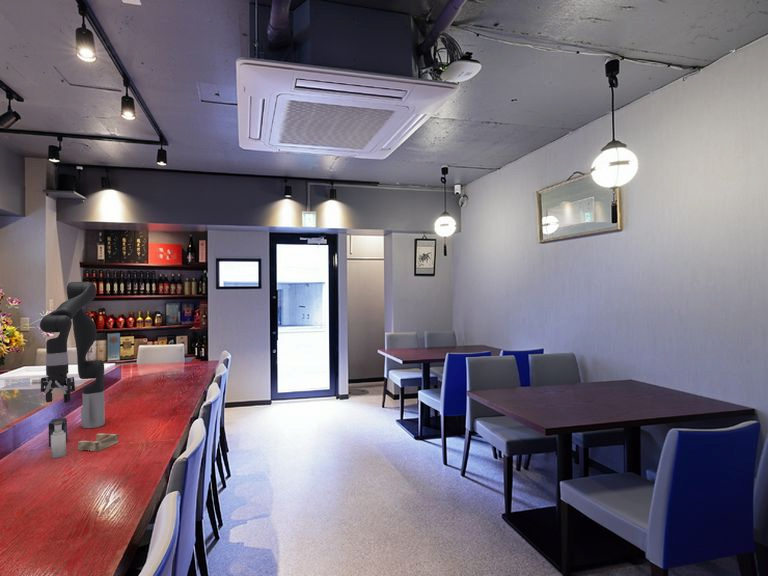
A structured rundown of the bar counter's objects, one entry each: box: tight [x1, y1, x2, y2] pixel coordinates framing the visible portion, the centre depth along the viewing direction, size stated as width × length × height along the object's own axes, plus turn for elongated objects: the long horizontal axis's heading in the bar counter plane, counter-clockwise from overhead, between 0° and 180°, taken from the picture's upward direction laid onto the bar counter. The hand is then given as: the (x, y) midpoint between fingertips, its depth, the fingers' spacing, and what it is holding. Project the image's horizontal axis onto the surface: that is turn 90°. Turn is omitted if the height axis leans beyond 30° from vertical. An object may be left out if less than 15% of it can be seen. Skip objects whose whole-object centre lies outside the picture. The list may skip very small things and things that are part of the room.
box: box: [48, 417, 68, 448], centre depth 201 cm, size 8×6×11 cm
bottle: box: [50, 421, 67, 459], centre depth 185 cm, size 5×5×14 cm
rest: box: [77, 433, 119, 452], centre depth 196 cm, size 10×11×4 cm
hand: (58, 402), depth 185 cm, fingers open, 8 cm apart
